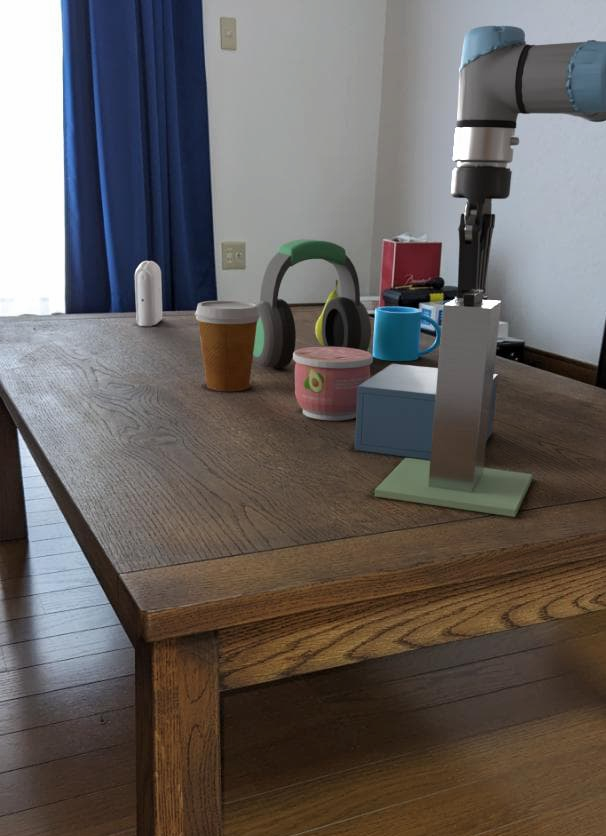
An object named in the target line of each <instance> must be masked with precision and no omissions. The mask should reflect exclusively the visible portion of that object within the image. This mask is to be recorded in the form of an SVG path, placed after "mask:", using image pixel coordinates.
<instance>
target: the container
mask: <svg viewBox="0 0 606 836" xmlns="http://www.w3.org/2000/svg"><path fill="white" fill-rule="evenodd" d="M292 360H293V361H294V362H295V365H294V387H295V388H294V394H295V399H296V401H297V404H298V406H299V407H301V409H302V414H303V415H304V416H306V417H307V418H310V419H314V420H320V421H321V420H323V421H347V420H353V419H356V412H357V393H358V386H359V385H361V384H362V383H364V382H365V381H367V380H368V379H370V378H371V364H373V362H374V357H373V353H371V352H369V351H368V350H367V351H363V350H359V349H354V348H345V347H324V346H309V347H303V348H300V349H296V350H294V353H293V358H292Z"/></svg>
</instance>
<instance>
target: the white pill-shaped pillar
mask: <svg viewBox="0 0 606 836" xmlns="http://www.w3.org/2000/svg"><path fill="white" fill-rule="evenodd" d="M162 284H163V283H162V269H161V268H160V266H159V264H158V263H156V262H155V261H153V260H144V261H142V262H140V263H139V265H138V266H137V268H136V269H135V272H134V290H135V291H134V293H135V294H134V295H135V314H136V315H135V316H136V324H137V325H138V326H139V327H152V326H155V325H157V324H158V323H159V322H160V321H161V320H162V319H163V289H162V286H163V285H162Z"/></svg>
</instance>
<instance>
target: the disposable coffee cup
mask: <svg viewBox="0 0 606 836" xmlns="http://www.w3.org/2000/svg"><path fill="white" fill-rule="evenodd" d="M194 316H195V317H196V320H197V323H198V332H199V339H200V347H201V353H202V361H203V367H204V375H205V381H206V382H205V383H206V387H207V388H208V389H209V390H212V391H218V392H241V391H244V390H247V389H249V388H250V383H251V373H252V366H253V359H254V358H253V351H254V344H255V336H256V328H257V321H258V320H259V317H260V313H259V311H258V307H257V303H254V302H251V301H250V302H249V301H242V300H207V301H201V302H198V303H197V306H196V310H195V311H194Z"/></svg>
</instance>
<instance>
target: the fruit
mask: <svg viewBox="0 0 606 836" xmlns="http://www.w3.org/2000/svg"><path fill="white" fill-rule="evenodd" d="M338 282H339V280H338V279H336V280H335V282H334V283H335V288H334V290H333V291H331V293H330V294H329V295H328V298H327V299H326V302H325V304H324V306H323V309H322V312H321V314H320V316H319V317H318V319H317V321H316V323H315V328H314V330H315V331H314V333H315V337H316V339H317V341H318V342H319V344H320V345H321V346H322V347H324V344H323V339H322V319H323V313H324V310H325V307H326V305H327V303H328V302H329V301H330V300H331V299H333V298H335V297H340V296H339V294H338V291H337V289H338V285H339V284H338Z"/></svg>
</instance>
